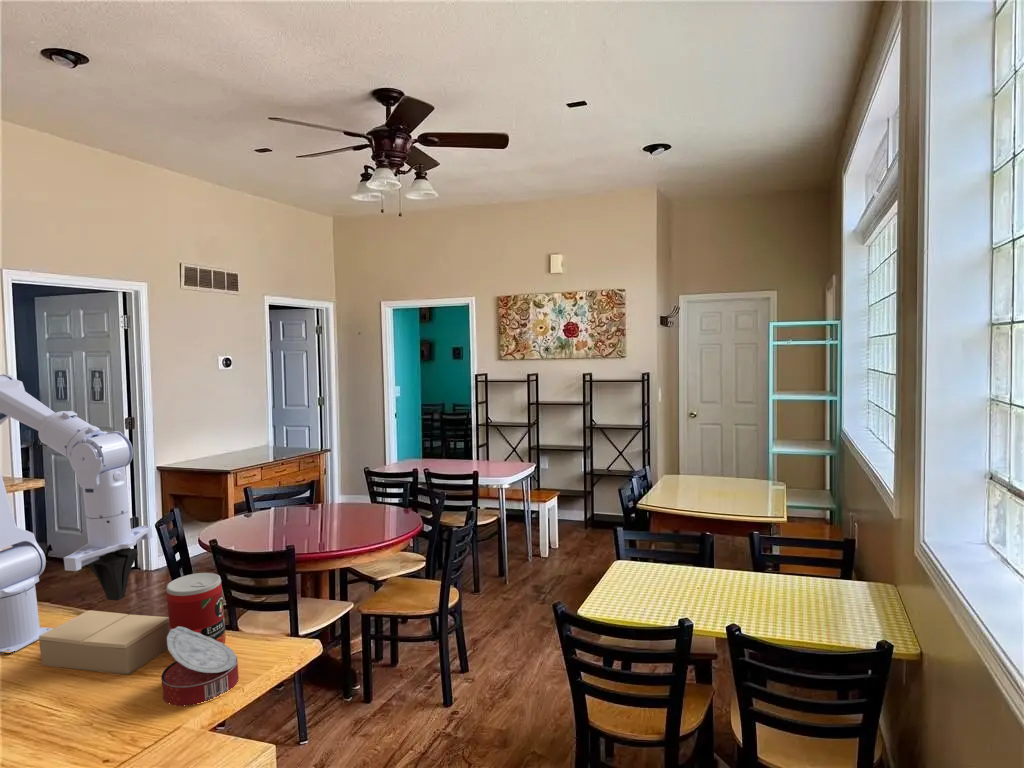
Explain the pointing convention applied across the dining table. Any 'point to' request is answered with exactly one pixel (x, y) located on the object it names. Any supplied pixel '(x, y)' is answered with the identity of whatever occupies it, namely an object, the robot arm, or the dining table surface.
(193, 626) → the canned food
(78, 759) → the dining table surface
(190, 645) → the canned food
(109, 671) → the carton
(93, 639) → the flap
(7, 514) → the robot arm
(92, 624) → the flap
